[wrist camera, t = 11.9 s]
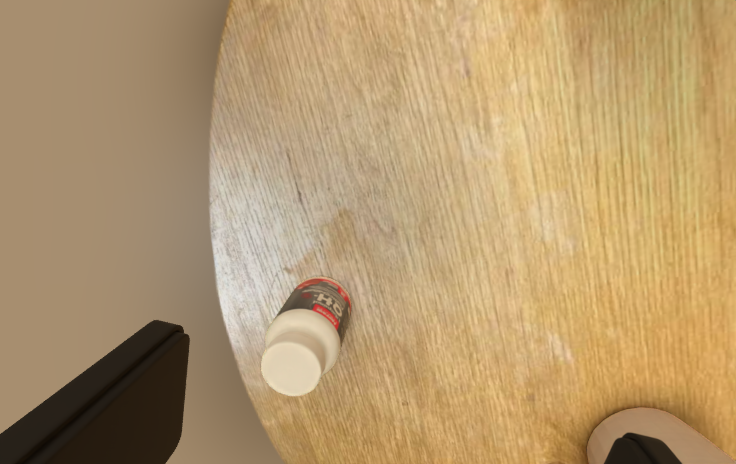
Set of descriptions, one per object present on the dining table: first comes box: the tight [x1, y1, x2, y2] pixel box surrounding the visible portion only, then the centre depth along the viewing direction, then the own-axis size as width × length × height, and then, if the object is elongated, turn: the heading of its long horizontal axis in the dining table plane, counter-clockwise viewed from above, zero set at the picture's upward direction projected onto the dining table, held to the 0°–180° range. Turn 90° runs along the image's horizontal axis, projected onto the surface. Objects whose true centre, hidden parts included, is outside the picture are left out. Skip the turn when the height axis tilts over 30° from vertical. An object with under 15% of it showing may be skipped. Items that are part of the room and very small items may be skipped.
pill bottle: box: [261, 276, 352, 396], centre depth 29 cm, size 5×5×10 cm
